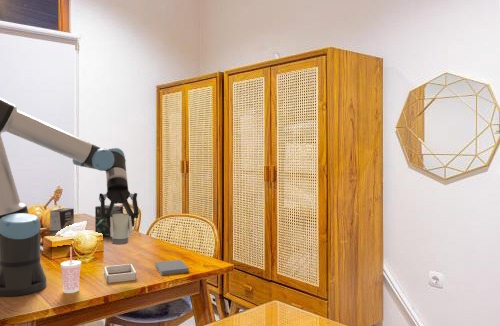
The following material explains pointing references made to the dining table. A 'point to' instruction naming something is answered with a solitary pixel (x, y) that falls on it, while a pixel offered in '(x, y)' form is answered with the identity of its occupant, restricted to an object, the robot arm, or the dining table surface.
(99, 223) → the tampon box
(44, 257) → the dining table surface
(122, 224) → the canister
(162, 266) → the plate
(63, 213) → the coffee box
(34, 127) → the robot arm
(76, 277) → the beverage cup
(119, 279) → the white tray
